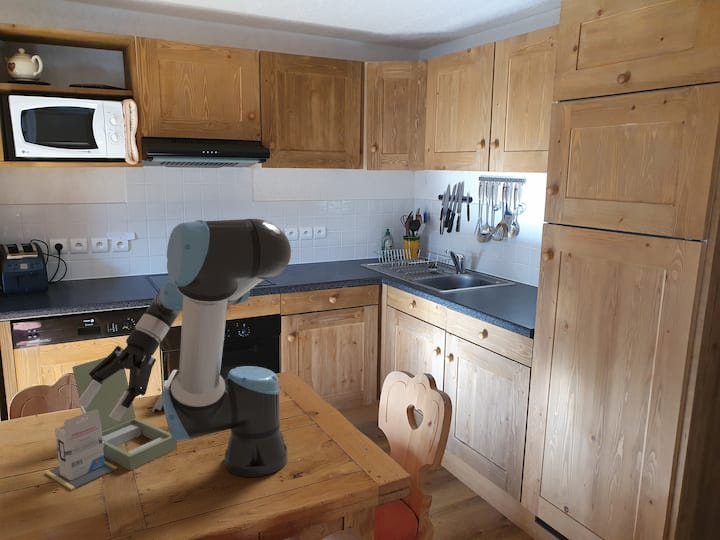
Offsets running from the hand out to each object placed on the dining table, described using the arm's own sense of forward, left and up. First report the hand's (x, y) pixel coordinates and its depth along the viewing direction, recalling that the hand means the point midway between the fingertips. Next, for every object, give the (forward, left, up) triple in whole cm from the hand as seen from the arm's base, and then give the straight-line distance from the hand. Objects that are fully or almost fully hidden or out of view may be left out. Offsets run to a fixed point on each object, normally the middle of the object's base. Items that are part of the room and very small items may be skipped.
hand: (97, 412), depth 132 cm
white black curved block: (+17, -33, -14) cm, 39 cm away
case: (+3, -8, -13) cm, 16 cm away
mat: (0, +5, -13) cm, 14 cm away
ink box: (0, +5, -13) cm, 14 cm away
